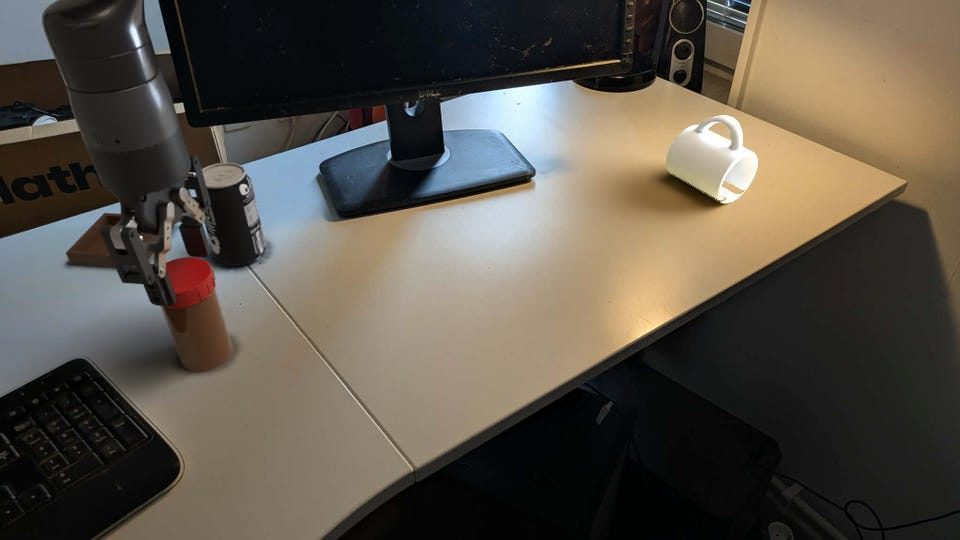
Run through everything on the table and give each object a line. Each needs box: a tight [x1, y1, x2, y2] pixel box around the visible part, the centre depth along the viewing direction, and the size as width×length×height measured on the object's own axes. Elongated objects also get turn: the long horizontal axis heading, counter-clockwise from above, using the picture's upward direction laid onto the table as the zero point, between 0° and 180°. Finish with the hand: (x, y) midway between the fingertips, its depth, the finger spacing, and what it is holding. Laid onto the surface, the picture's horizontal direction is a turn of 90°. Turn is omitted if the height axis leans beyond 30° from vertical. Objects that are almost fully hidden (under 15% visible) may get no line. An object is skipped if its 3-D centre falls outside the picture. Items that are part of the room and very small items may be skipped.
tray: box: [65, 212, 159, 269], centre depth 87 cm, size 9×9×2 cm
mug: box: [665, 114, 758, 204], centre depth 98 cm, size 8×10×12 cm
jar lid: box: [164, 256, 217, 308], centre depth 66 cm, size 6×6×2 cm
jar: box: [159, 287, 234, 372], centre depth 69 cm, size 5×5×11 cm
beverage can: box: [194, 162, 267, 267], centre depth 83 cm, size 7×7×12 cm
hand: (183, 277), depth 66 cm, fingers open, 7 cm apart
